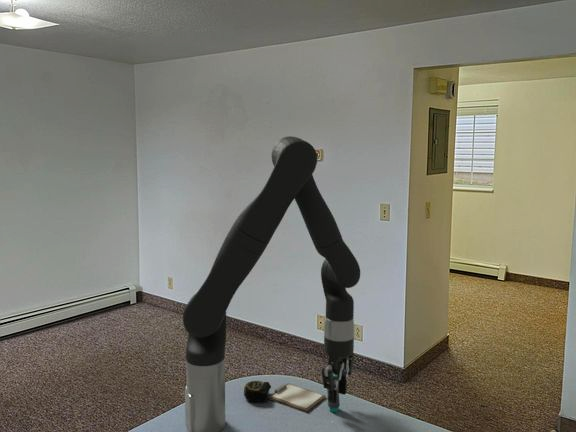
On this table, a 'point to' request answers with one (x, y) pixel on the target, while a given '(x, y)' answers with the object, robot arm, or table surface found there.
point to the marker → (334, 406)
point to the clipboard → (296, 397)
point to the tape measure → (256, 391)
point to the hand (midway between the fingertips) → (337, 397)
